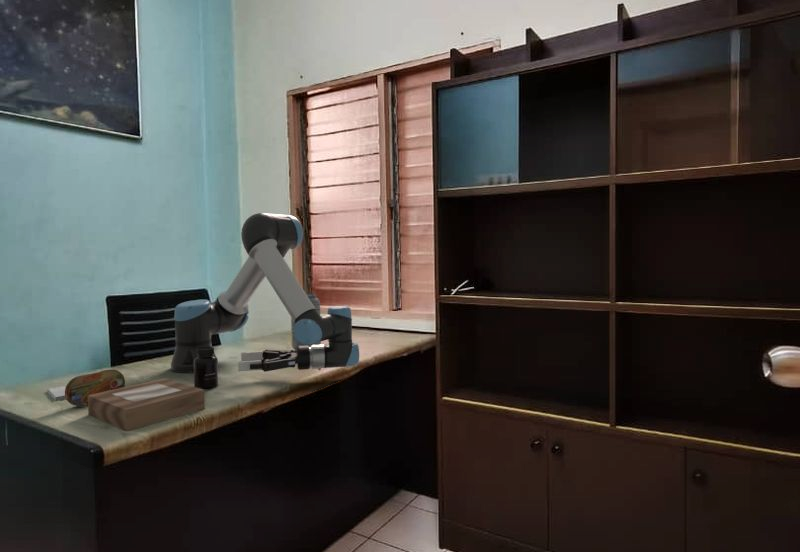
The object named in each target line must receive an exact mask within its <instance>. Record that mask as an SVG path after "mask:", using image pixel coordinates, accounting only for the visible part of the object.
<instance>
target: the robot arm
mask: <svg viewBox="0 0 800 552" xmlns="http://www.w3.org/2000/svg"><path fill="white" fill-rule="evenodd" d="M240 233H241V234H240V235H241V242H242V245H243V248H244V249H245V252H246V253H247V255H248V257H247V259H246V261H245V262H244V263H243V265H242V266H241V268H240V270H239V271H238V273H237V275H236V276H235V277H234V279H233V281H232V282H231V283H230V285H229V287H228V288H227V290H225V291H222V292H221V293H219V295H218V296H217V298H216V299H215V301H212V302H210V300H208V299H195V300H188V301H184V302H181V303H179V304H177V305H176V306H175V308H174V315H173V319H174V333H175V334H174V336H175V337H174V338H175V349H174V352H173V354H172V357H171V362H170V371H172V372H174V373H194V359H195V358H196V357H198V355H197V348H200V347H213V345H212V336H214V335H218V334H222V333H223V334H224V333H229V332H235V331H237V330H240V329H242V328H244V326H245V325H246V324H247V322H248V319H249V315H248V314H249V304H248V303H249V302H250V300H251V299H252V297H253V296H254V294H255V293H256V291H257V290H258V288H259V287H260V285H261V283H263V281H264V280H265V278H266V279H267V281H268V282H269V283H270V285H271V287H272V288H273V291H274V292H275V293H276V295H277V297H278V298H279V300H280V301H281V303H282V305H283V306H284V308H285V310H286V311H287V313H288V314H289V316H290V319H291V318H292V319H293V321H294V322H295V326H294V329H293V332H294V337H295V339H296V340H297V341H298V342H299V343H300V344H303V345H306V346H298V347H297V352H294V349H291V350H284V349H283V350H282V349H281V350H280V349H264V350H263V351H247V352H246V351H245V352H240V353H241V354H240V355H241V360H240V361H237V370H238V372H249V371H250V372H251V371H263V372H264V373H265V372H270V371H277V370H282V369H287V368H295V367H296V365H297V370H299V371H301V370H302V371H303V370H304V371H306V370H309V369H312V370H316V369H317V370H318V371H321V370H322V369H329V368H333V369H334V368H348V367H355V366H357V365H358V364H359V363H360V346H359V345H358V343H357V342H354V341H353V334H352V333H353V318H352V309H351V308H350V307H349V306H347V305H335V306H329V307H328V309H327V313H326V314H325V315H321V314H320V315H319V313H318V312H317V310H316V309H315V307H314V306H313V304H312V302H311V301H310V299H309V298H308V296H307V295H306V294H307V293H306V291H305V290H304V289H303V287H302V286H301V283H300V282H299V280H298V279H297V277H296V276H295V274H294V272H293V271H292V269H291V268H290V267H289V264H288V263H287V262H286V260H285V259H284V258H285V256H286V255H287V253H288V252H289V250H294V249H296V248H298V247H300V245H301V244H302V242H303V238H304V232H303V226H302V224H301V222H300V221H299V219H298V218H297V217H295V216H293V215H291V214H290V215H289V214H286V213H283V214H277V213H266V212H258V213H255V214H252V215H250V216H248V218H246V219H245V221H244V222H243V225H242V227H241V232H240ZM324 341H328V343H326V344H322V342H324ZM318 342H321V344H320V345H311V347H309V346H308V344H315V343H318ZM214 356H216V353H215V352H214ZM216 357H217V356H216Z"/></svg>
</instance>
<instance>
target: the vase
mask: <svg viewBox="0 0 800 552" xmlns="http://www.w3.org/2000/svg"><path fill="white" fill-rule="evenodd" d="M306 295H307V296H308V298H309V299H310V301H311V302H312V304H313V306H314V307H315V309H316V310H317V312H318V313H319V315H320V316H321V301H320V299H319V298H318V297H317V294H315V293H306ZM294 326H295V322H294V321H293V319H292V318H291V317H290V329H291V347H292V350H295V353H297V347H298V346H306V345H303V344H300V343H299V342H298V341H297V340H296V339H295V337H294V332H293V329H294ZM320 344H322V341H321V342H318V343H315V344H308V346H309V347H311V345H320Z"/></svg>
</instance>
